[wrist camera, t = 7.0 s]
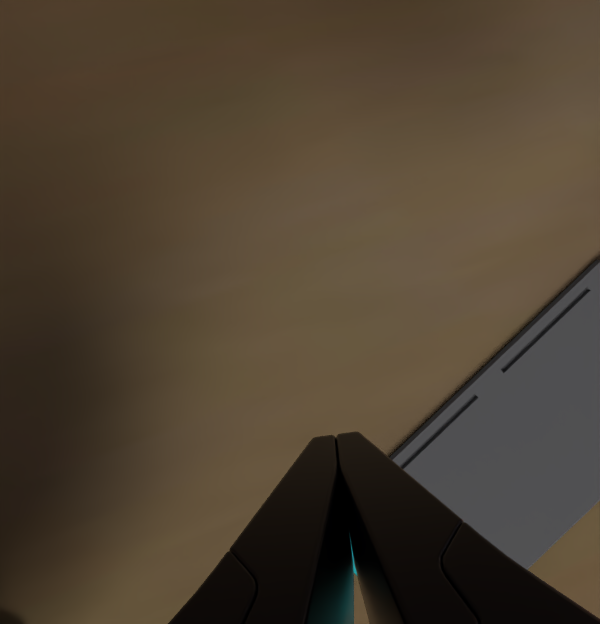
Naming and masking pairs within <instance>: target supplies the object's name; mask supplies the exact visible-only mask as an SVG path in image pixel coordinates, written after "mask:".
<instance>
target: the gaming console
mask: <svg viewBox="0 0 600 624" xmlns="http://www.w3.org/2000/svg"><path fill="white" fill-rule="evenodd" d="M389 458H390V459H391V460H393V461H394V462H395V463H396V464H397V465H398V466H400V467H401V468H402V469H403V470H404V471H406V472H407V473H408V474H409V475H410V476H411V477H413V478H414V479H415V480H416V481H417V482H419V483H420V484H421V485H422V486H423V487H425V488H426V489H427V490H428V491H429V492H430V493H432V494H433V495H434V496H435V497H436V498H438V499H439V500H440V501H441V502H442V503H443V504H445V505H446V506H447V507H448V508H449V509H451V510H452V511H453V512H454V513H455V514H456V515H458V516H459V517H460V518H461V519H462V520H463V521H464V522H466V523H467V524H469V525H470V526H471V527H472V528H473V529H475V530H476V531H477V532H478V533H479V534H480V535H482V536H483V537H484V538H485V539H487V540H488V541H489V542H491V543H492V544H493V545H494V546H496V547H497V548H498V549H499V550H501V551H502V552H503V553H504V554H506V555H507V556H508V557H510V558H511V559H513V560H514V561H515V562H517V563H518V564H520V565H521V566H522V567H524V568H525V569H527V570H528V569H529V568H530V567H531V566H532V565H533V564H534V563H535V562H536V561H537V560H538V559H539V558H540V557H541V556H542V555H543V554H544V553H545V552H546V551H547V550H548V549H549V548H550V547H552V546H553V545H554V544H555V543H556V542H557V541H558V540H559V539H560V538H561V537H562V536H563V535H564V534H565V533H566V532H567V531H568V530H569V529H570V528H571V527H572V526H573V525H574V524H576V523H577V522H578V521H579V520H580V519H581V518H582V517H583V516H584V515H585V514H586V513H587V512H588V511H589V510H590V509H591V508H592V507H593V506H594V505H595V504H596V503H597V502H598V501H600V260H596V261H595V262H593V263H592V264H591V265H590V266H589V267H588V268H587V269H586V270H585V271H584V272H583V273H582V274H581V275H580V276H579V277H578V278H577V279H576V280H575V281H574V282H573V283H571V284H570V285H569V286H568V287H567V288H566V289H565V290H564V291H563V292H562V293H561V294H560V295H559V296H558V297H557V298H556V299H555V300H554V301H553V302H552V303H551V304H549V305H548V306H547V307H546V308H545V309H544V310H543V311H542V312H541V313H540V314H539V315H538V316H537V317H536V318H535V319H534V320H533V321H532V322H531V323H530V324H529V325H528V326H526V327H525V328H524V329H523V330H522V331H521V332H520V333H519V334H518V335H517V336H516V337H515V338H514V339H513V340H512V341H511V342H510V343H509V344H508V345H507V346H506V347H504V348H503V349H502V350H501V351H500V352H499V353H498V354H497V355H496V356H495V357H494V358H493V359H492V360H491V361H490V362H489V363H488V364H487V365H486V366H485V367H484V368H482V369H481V370H480V371H479V372H478V373H477V374H476V375H475V376H474V377H473V378H472V379H471V380H470V381H469V382H468V383H467V384H466V385H465V386H464V387H463V388H462V389H460V390H459V391H458V392H457V393H456V394H455V395H454V396H453V397H452V398H451V399H450V400H449V401H448V402H447V403H446V404H445V405H444V406H443V407H442V408H441V409H440V410H438V411H437V412H436V413H435V414H434V415H433V416H432V417H431V418H430V419H429V420H428V421H427V422H426V423H425V424H424V425H423V426H422V427H421V428H420V429H419V430H418V431H417V432H415V433H414V434H413V435H412V436H411V437H410V438H409V439H408V440H407V441H406V442H405V443H404V444H403V445H402V446H401V447H400V448H399V449H398V450H397V451H396V452H395V453H393V454H392V455H391V456H390V457H389ZM350 540H351V539H350ZM351 547H352V545H351ZM352 557H353V552H352ZM353 572H354V573H355V574H356V575H357V572H356V568H355V564H354V558H353Z"/></svg>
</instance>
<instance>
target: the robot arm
mask: <svg viewBox="0 0 600 624" xmlns="http://www.w3.org/2000/svg"><path fill="white" fill-rule="evenodd" d="M350 539H351V540H350ZM351 545H352V547H351ZM352 552H353V557H352ZM353 558H354V564H355V568H356V572H357V577H358V581H359V584H360V588H361V592H362V596H363V600H364V603H365V607H366V611H367V615H368V619H369V622H370V624H600V619H599V618H598V617H596V616H595V615H593V614H592V613H590V612H589V611H587V610H586V609H584V608H583V607H581V606H580V605H578V604H577V603H575V602H574V601H572V600H571V599H569V598H568V597H566V596H565V595H563V594H562V593H560V592H559V591H557V590H556V589H554V588H553V587H551V586H550V585H548V584H547V583H545V582H544V581H542V580H541V579H539V578H538V577H537V576H535V575H534V574H532V573H531V572H530V571H528V570H527V569H525V568H524V567H522V566H521V565H520V564H518V563H517V562H515V561H514V560H513V559H511V558H510V557H508V556H507V555H506V554H504V553H503V552H502V551H501V550H499V549H498V548H497V547H496V546H494V545H493V544H492V543H491V542H489V541H488V540H487V539H485V538H484V537H483V536H482V535H480V534H479V533H478V532H477V531H476V530H475V529H473V528H472V527H471V526H470V525H469V524H467V523H466V522H464V521H463V520H462V519H461V518H460V517H459V516H458V515H456V514H455V513H454V512H453V511H452V510H451V509H449V508H448V507H447V506H446V505H445V504H443V503H442V502H441V501H440V500H439V499H438V498H436V497H435V496H434V495H433V494H432V493H430V492H429V491H428V490H427V489H426V488H425V487H423V486H422V485H421V484H420V483H419V482H417V481H416V480H415V479H414V478H413V477H411V476H410V475H409V474H408V473H407V472H406V471H404V470H403V469H402V468H401V467H400V466H398V465H397V464H396V463H395V462H394V461H393V460H391V459H390V458H389V457H388V456H387V455H385V454H384V453H383V452H382V451H381V450H380V449H378V448H377V447H376V446H375V445H374V444H372V443H371V442H370V441H369V440H368V439H366V438H365V437H364V436H363V435H362V434H361V433H359V432H350V433H342V434H338V435H337V437H335V436H333V435H328V436H320V437H314V438H313V439H312V440H311V441H310V442H309V444H308V445H307V446H306V448H305V449H304V450H303V452H302V453H301V454H300V456H299V457H298V458H297V460H296V461H295V462H294V464H293V465H292V466H291V468H290V469H289V470H288V472H287V473H286V474H285V476H284V477H283V478H282V480H281V481H280V482H279V484H278V485H277V486H276V488H275V489H274V490H273V492H272V493H271V494H270V496H269V497H268V498H267V500H266V501H265V502H264V504H263V505H262V506H261V508H260V509H259V510H258V512H257V513H256V514H255V516H254V517H253V518H252V520H251V521H250V522H249V524H248V525H247V526H246V528H245V529H244V530H243V532H242V533H241V534H240V536H239V537H238V538H237V540H236V541H235V542H234V544H233V545H232V546H231V548H230V552H227V553H226V554H225V555H224V557H223V558H222V559H221V561H220V562H219V563H218V565H217V566H216V567H215V569H214V570H213V571H212V573H211V574H210V575H209V576H208V578H207V579H206V580H205V581H204V583H203V584H202V585H201V586H200V588H199V589H198V590H197V591H196V593H195V594H194V595H193V596H192V597H191V598H190V599H189V601H188V602H187V603H186V604H185V605H184V606H183V607H182V608H181V610H180V611H179V612H178V613H177V614H176V615H175V616H174V618H173V619H172V620H171V621H170V622H169V623H168V624H354V573H353Z"/></svg>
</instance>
